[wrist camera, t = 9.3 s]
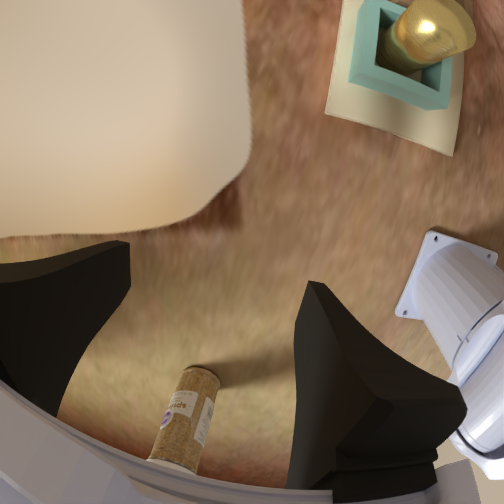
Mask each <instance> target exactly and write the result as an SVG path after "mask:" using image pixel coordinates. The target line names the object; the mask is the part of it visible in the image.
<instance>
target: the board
mask: <svg viewBox="0 0 504 504" xmlns="http://www.w3.org/2000/svg"><path fill="white" fill-rule="evenodd" d="M363 2H364V0H343V1H342V8H341V16H340V23H339V30H338V37H337V44H336V50H335V57H334V63H333V69H332V75H331V81H330V86H329V92H328V97H327V103H326V108H325V114H327V115H331V116H335V117H339V118H342V119H346V120H350V121H353V122H356V123H360V124H363V125H366V126H370V127H373V128H376V129H379V130H382V131H385V132H388V133H391V134H393V135H396V136H399V137H402V138H404V139H407V140H410V141H412V142H415V143H417V144H420V145H422V146H425V147H427V148H429V149H432V150H434V151H436V152H439V153H441V154H443V155H445V156H450V157H453V152H454V147H455V141H456V136H457V130H458V124H459V117H460V109H461V100H462V90H463V77H464V51H462V52H460V53H458V54H455V55H453V57H452V75H451V87H450V96H449V105H448V109H439V110H429V111H426V110H424V109H421V108H419V107H417V106H414V105H412V104H410V103H407V102H405V101H402V100H400V99H397V98H394V97H392V96H389V95H386V94H383V93H381V92H378V91H375V90H372V89H369V88H366V87H362V86H359V85H356V84H353V83H349V82H348V77H349V71H350V64H351V58H352V51H353V44H354V36H355V29H356V20H357V11H358V10H359V8H360V6H361V5H362V3H363ZM385 32H386V29H383V28H381V27H379V29H378V39H379V38H380V37H381V36H382V35H383V34H384V33H385ZM378 39H377V40H378ZM374 65H376V66H378V64H377V63H376V61H375V63H374ZM421 73H422V69H421V70H419V71H417V72H415V73H413V74H411V75H409V76H407V78H410V79H412V80H414V81H417V82H419V83H420V82H421Z"/></svg>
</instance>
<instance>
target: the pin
mask: <svg viewBox="0 0 504 504" xmlns="http://www.w3.org/2000/svg"><path fill="white" fill-rule="evenodd" d="M475 41H476V31H475V27H474V24H473V22H472V20H471V18H470V16H469V15H468V13H467V12H466V11H465V10H464V8H463V7H462V6H461V5H460V4H459V3H457V2H456V1H455V0H415V1H414V2H413V3H412V4H411V5H410V6H409V7H408V8H407V9H406V10H405V11H404V12H403V13H402V14H401V15H400V16H399V17H398V18H397V20H396V21H395V22H394V23H393V24H392V25H391V26H390V27H389V28H388V29H387V30H386V32H385V33H384V34H383V35H382V36H381V37H380V38H379V39H378V40H377V48H376V56H375V61H376V63H377V64H378V66H379V67H381V68H384V69H387V70H390V71H392V72H395V73H397V74H400V75H402V76H405V77H407V76H409V75H411V74H413V73H415V72H417V71H419V70H421V69H424V68H426V67H428V66H430V65H432V64H434V63H437V62H439V61H441V60H443V59H446V58H448V57H450V56H453V55H455V54H458V53H460V52H462V51H465V50H467V49H470V48H471V47H472V46H473V45H474V44H475Z"/></svg>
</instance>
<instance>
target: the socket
mask: <svg viewBox="0 0 504 504" xmlns="http://www.w3.org/2000/svg"><path fill="white" fill-rule="evenodd" d="M406 9H407V8H405V7H402V6H400V5H397V4H395V3H392V2H390V1H387V0H364V2H363V3H362V5H361V6H360V8H359V10H358V11H357V20H356V29H355V36H354V44H353V51H352V58H351V64H350V71H349V77H348V82H349V83H353V84H356V85H359V86H362V87H366V88H369V89H372V90H375V91H378V92H381V93H383V94H386V95H389V96H392V97H394V98H397V99H400V100H402V101H405V102H407V103H410V104H412V105H414V106H417V107H419V108H421V109H424V110H426V111H429V110H439V109H448V105H449V96H450V87H451V75H452V57H453V56H450V57H448V58H446V59H443V60H441V61H439V62H437V63H434V64H432V65H430V66H428V67H426V68H424V69H422V73H421V82H420V83H419V82H417V81H414V80H412V79H410V78H407V77H405V76H402V75H400V74H397V73H395V72H392V71H390V70H387V69H384V68H381V67H379V66H376V65H374V63H375V56H376V48H377V39H378V29H379V27H381V28H383V29H386V30H387V29H388V28H389V27H390V26H391V25H392V24H393V23H394V22H395V21H396V20H397V18H398V17H399V16H400V15H401V14H402V13H403V12H404V11H405V10H406Z"/></svg>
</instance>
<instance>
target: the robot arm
mask: <svg viewBox="0 0 504 504" xmlns="http://www.w3.org/2000/svg"><path fill="white" fill-rule="evenodd" d="M436 236H437V239H436V240H434V238H435V237H436ZM488 254H489V255H488ZM497 259H498V254H497V253H496V252H494V251H491V250H489V249H486V248H483V247H480V246H478V245H475V244H472V243H469V242H466V241H463V240H460V239H457V238H454V237H451V236H448V235H445V234H442V233H439V232H436V231H433V230H430V231H428V232H427V233H426V235H425V238H424V241H423V244H422V246H421V249H420V252H419V254H418V257H417V260H416V262H415V265H414V267H413V270H412V272H411V275H410V277H409V279H408V282H407V284H406V286H405V289H404V291H403V293H402V296H401V298H400V300H399V302H398V304H397V306H396V309H395V314H396V315H397V316H398V317H405V318H412V319H420V320H423V321H424V323H425V324H426V326H427V328H428V329H429V331H430V333H431V334H432V336H433V338H434V340H435V342H436V343H437V345H438V347H439V349H440V351H441V352H442V354H443V356H444V358H445V360H446V362H447V364H448V366H449V367H450V369H451V371H452V374H451V376H450V377H449V379H448V380H447V381H445V380H442V379H440V378H438V377H436V376H433V375H431V374H429V373H427V372H426V371H424V370H422V369H420V368H418V367H416V366H415V365H413V364H411V363H410V362H408V361H406V360H405V359H403V358H402V357H401V356H399V355H398V354H396V353H395V352H393V351H392V350H390V349H389V348H388V347H386V346H385V345H384V344H383V343H381V342H380V341H379V340H378V339H377V338H376V337H374V336H373V335H372V334H371V333H370V332H369V331H368V330H366V329H365V328H364V327H363V326H362V325H361V324H360V323H359V322H358V321H357V320H356V319H355V317H354V316H353V315H352V314H351V313H350V312H349V311H348V310H347V309H346V308H345V306H344V305H343V304H342V303H341V302H340V301H339V300H338V298H337V297H336V296H335V295H334V294H333V292H332V291H331V290H330V289H329V288H328V287H327V286H326V285H325V284H324V283H320V282H315V281H309V280H308V284H307V287H306V290H305V293H304V297H303V300H302V303H301V306H300V309H299V313H298V316H297V319H296V322H295V331H294V359H295V375H296V414H295V426H294V435H293V444H292V451H291V458H290V465H289V471H288V476H287V482H286V487H285V489H278V488H267V487H258V486H250V485H243V484H237V483H231V482H225V481H220V480H215V479H210V478H205V477H201V476H197V475H193V474H189V473H185V472H181V471H178V470H174V469H171V468H168V467H164V466H161V465H158V464H155V463H152V462H149V461H146V460H144V459H141V458H138V457H135V456H133V455H130V454H128V453H125V452H123V451H120V450H118V449H116V448H113V447H111V446H109V445H106V444H104V443H102V442H100V441H98V440H96V439H94V438H91V437H89V436H87V435H85V434H84V433H82V432H80V431H78V430H76V429H74V428H72V427H70V426H69V425H67V424H65V423H63V422H61V421H60V420H58V419H56V416H57V413H58V410H59V406H60V403H61V400H62V398H63V395H64V393H65V390H66V388H67V385H68V383H69V381H70V378H71V376H72V374H73V372H74V370H75V368H76V366H77V364H78V362H79V361H80V359H81V357H82V355H83V353H84V352H85V350H86V348H87V346H88V345H89V344H90V342H91V341H92V339H93V338H94V337H95V335H96V334H97V333H98V331H99V330H100V329H101V328H102V326H103V325H104V324H105V323H106V321H107V320H108V319H109V318H110V316H111V315H112V314H113V313H114V311H115V310H116V309H117V308H118V306H119V305H120V304H121V302H122V301H123V299H124V297H125V296H126V294H127V292H128V290H129V289H130V287H131V276H130V243H127V242H123V241H118V240H116V241H109V242H104V243H100V244H97V245H93V246H89V247H86V248H83V249H79V250H76V251H72V252H68V253H64V254H61V255H57V256H53V257H49V258H44V259H39V260H33V261H26V262H16V263H5V264H0V504H481V502H480V497H479V493H478V489H477V485H476V481H475V478H474V474H473V471H472V467H471V464H470V461H469V459H464V460H461V461H458V462H454V463H450V464H447V465H444V466H441V467H439V468H437V469H434V465H433V462H434V461H435V460H437V459H438V454H437V450H436V448H437V447H438V446H439V445H441V444H442V443H443V442H444V441H445V440H446V439H447V438H448V437H449V439H450V440H451V442H452V443H453V445H454V446H455V447H456V449H457V450H458V451H459V452H460V453H462V454H463V455H465V456H467V457H469V458H470V459H471V460H473V461H474V462H475V463H476V464H477V465H478V466H479V467H480V468H481V469H482V470H483V471H484V473H485V474H486V476H487V478H488V479H491V480H504V271H502V270H501V269H500V268H499V267H498V266H496V265H495V264H496V262H497ZM406 310H407V311H406ZM404 311H406V312H405V313H403V312H404Z"/></svg>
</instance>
